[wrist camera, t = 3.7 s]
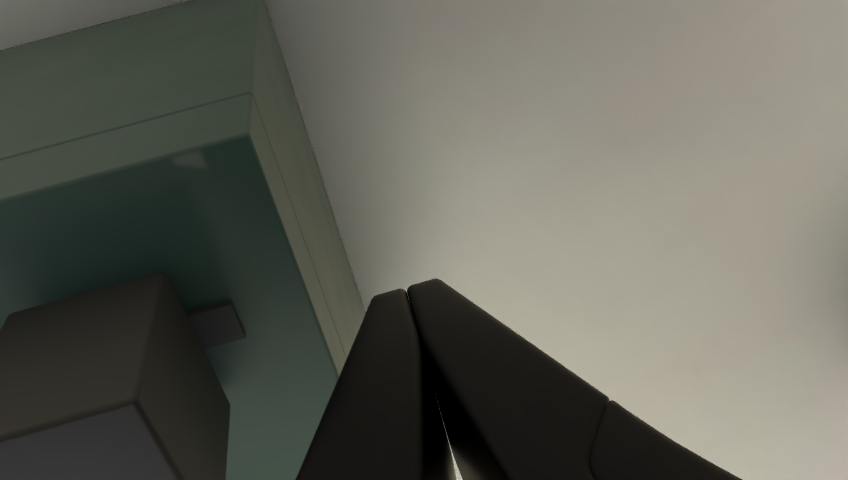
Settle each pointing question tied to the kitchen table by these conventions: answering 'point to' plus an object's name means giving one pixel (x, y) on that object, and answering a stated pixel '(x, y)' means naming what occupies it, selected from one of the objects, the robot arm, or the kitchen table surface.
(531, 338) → the kitchen table surface
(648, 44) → the kitchen table surface
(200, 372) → the slider
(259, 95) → the toaster
